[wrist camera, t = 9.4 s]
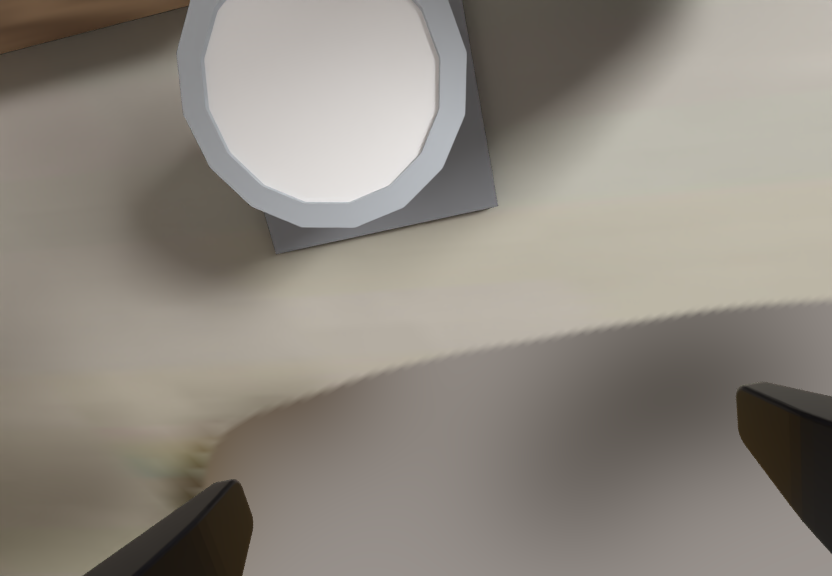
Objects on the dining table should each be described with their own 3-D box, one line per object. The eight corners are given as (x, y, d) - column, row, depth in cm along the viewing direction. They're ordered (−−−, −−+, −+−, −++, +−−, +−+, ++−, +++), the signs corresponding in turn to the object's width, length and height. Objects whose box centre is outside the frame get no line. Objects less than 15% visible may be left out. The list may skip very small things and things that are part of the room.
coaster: (452, -46, 17) (452, -54, 17) (495, 204, 19) (498, 206, 19) (211, 15, 18) (204, 10, 17) (280, 251, 20) (276, 254, 19)
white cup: (339, 240, 19) (293, 282, 12) (230, 85, 18) (111, 38, 11) (487, 139, 18) (524, 126, 11) (383, -33, 17) (356, -164, 10)
